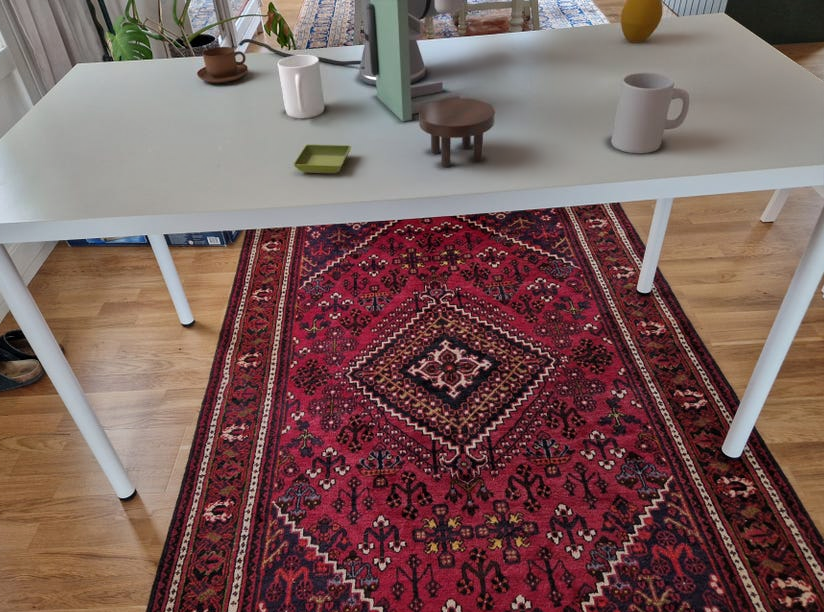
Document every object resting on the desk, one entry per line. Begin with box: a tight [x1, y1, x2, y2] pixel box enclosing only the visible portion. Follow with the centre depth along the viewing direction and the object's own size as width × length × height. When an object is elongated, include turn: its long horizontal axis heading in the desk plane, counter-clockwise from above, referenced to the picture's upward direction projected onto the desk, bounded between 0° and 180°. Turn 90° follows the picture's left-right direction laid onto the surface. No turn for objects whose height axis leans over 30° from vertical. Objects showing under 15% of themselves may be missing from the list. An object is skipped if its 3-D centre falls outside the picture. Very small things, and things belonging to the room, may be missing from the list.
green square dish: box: [293, 143, 352, 174], centre depth 114 cm, size 9×9×2 cm
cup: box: [277, 54, 325, 119], centre depth 131 cm, size 8×12×10 cm
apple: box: [620, 0, 664, 43], centre depth 157 cm, size 10×10×12 cm
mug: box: [610, 72, 691, 154], centre depth 111 cm, size 12×8×11 cm
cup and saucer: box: [196, 46, 248, 84], centre depth 153 cm, size 12×12×6 cm
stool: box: [418, 97, 496, 168], centre depth 112 cm, size 13×13×8 cm
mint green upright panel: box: [366, 0, 461, 123], centre depth 128 cm, size 16×16×22 cm
